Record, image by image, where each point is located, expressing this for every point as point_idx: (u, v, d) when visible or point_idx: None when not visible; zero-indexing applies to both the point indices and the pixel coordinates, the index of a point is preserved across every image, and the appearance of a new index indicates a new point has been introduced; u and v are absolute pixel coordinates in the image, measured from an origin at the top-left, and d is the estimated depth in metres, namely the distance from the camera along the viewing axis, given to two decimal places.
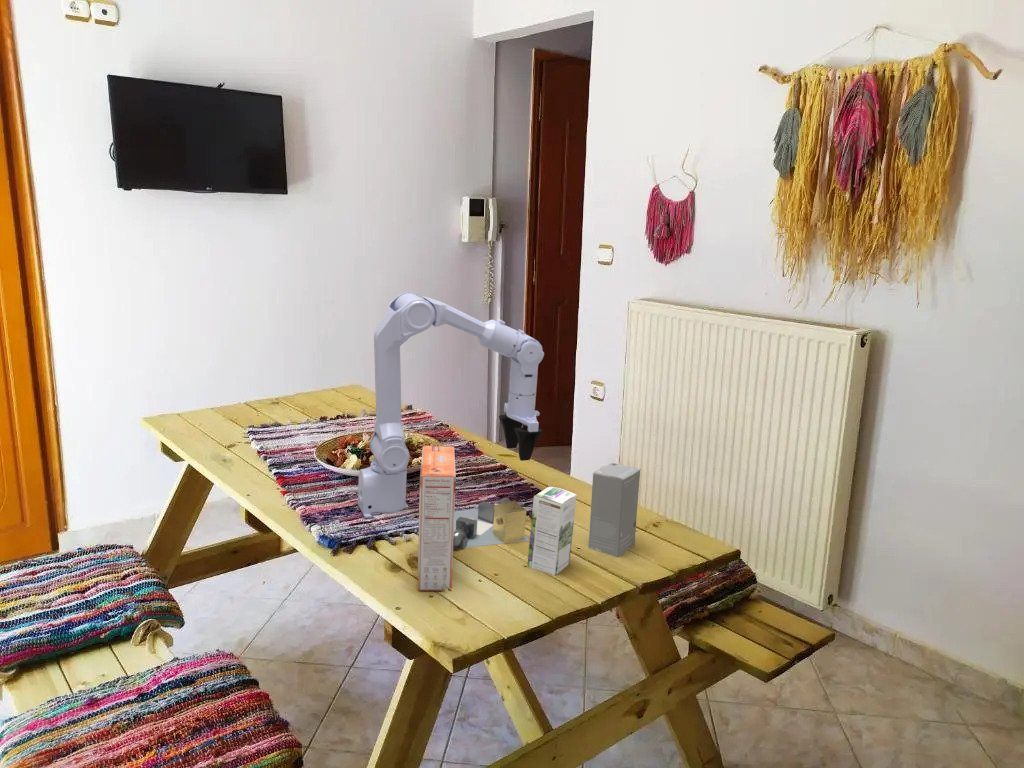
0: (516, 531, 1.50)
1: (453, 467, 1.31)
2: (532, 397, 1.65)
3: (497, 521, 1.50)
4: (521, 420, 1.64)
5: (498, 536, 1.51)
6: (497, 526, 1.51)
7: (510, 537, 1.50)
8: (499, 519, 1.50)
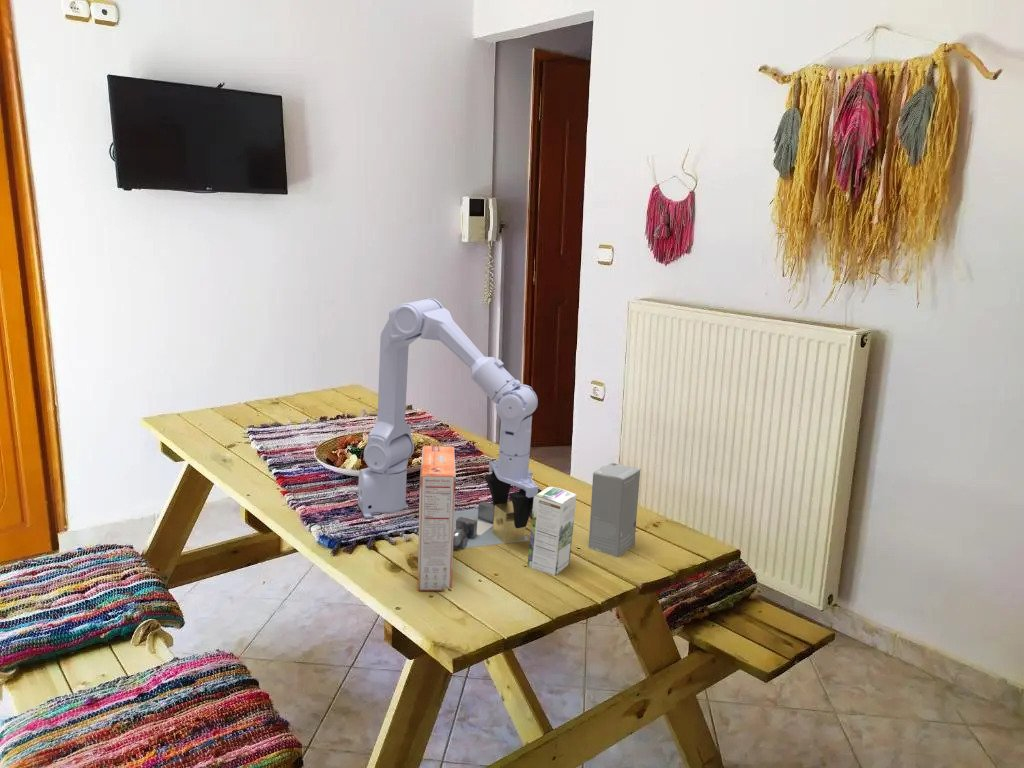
0: (516, 531, 1.50)
1: (453, 467, 1.31)
2: (527, 457, 1.47)
3: (497, 521, 1.50)
4: (517, 484, 1.45)
5: (498, 536, 1.51)
6: (497, 526, 1.51)
7: (510, 537, 1.50)
8: (499, 519, 1.50)
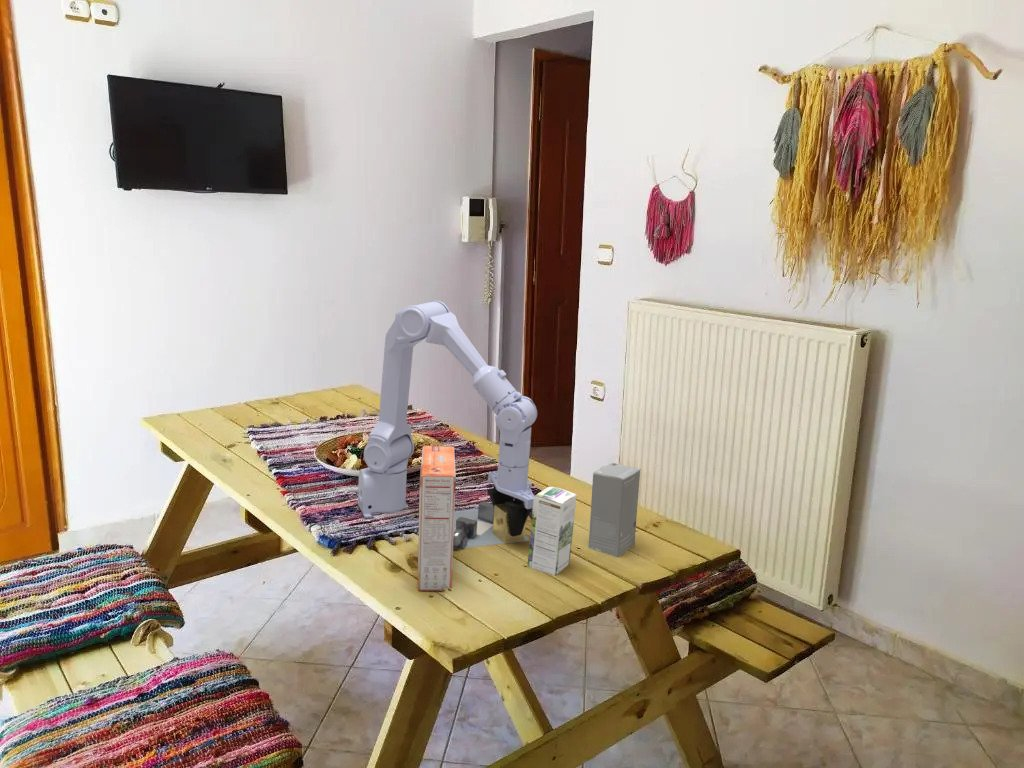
0: None
1: (453, 467, 1.31)
2: (526, 468, 1.47)
3: (497, 521, 1.50)
4: (516, 495, 1.45)
5: (498, 536, 1.51)
6: (497, 526, 1.51)
7: (510, 537, 1.50)
8: (499, 519, 1.50)
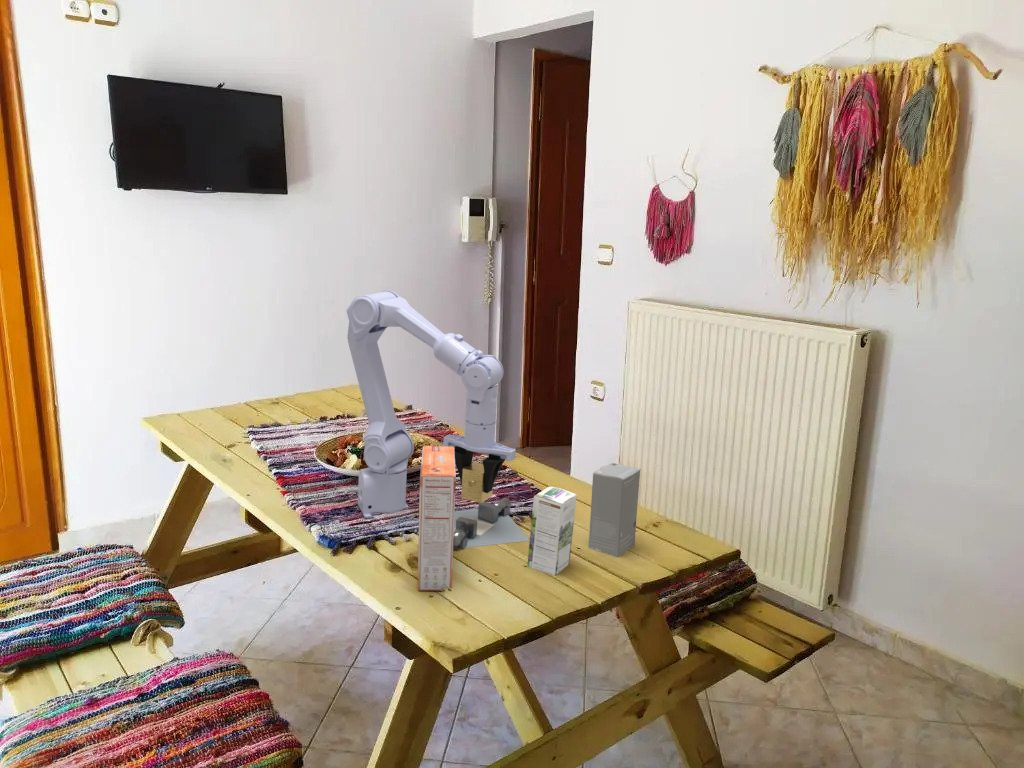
0: None
1: (453, 467, 1.31)
2: (495, 423, 1.50)
3: (470, 483, 1.51)
4: (495, 451, 1.48)
5: (471, 498, 1.52)
6: (468, 488, 1.52)
7: (484, 496, 1.52)
8: (472, 481, 1.51)
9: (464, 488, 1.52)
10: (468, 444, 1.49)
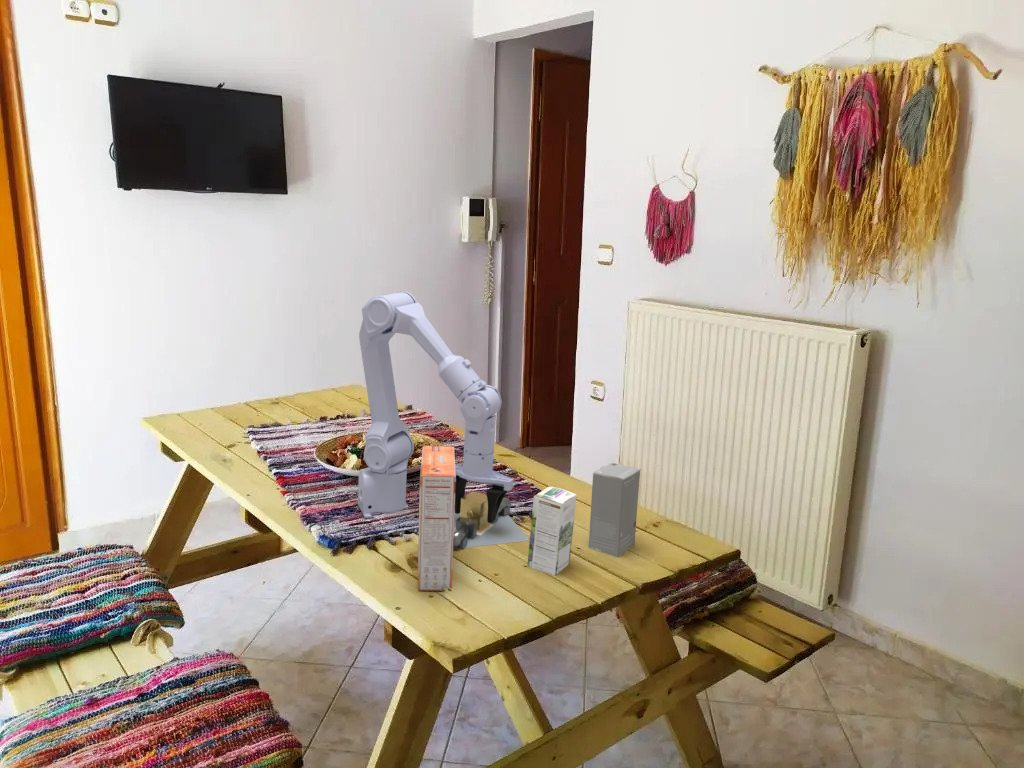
0: (486, 519, 1.54)
1: (453, 467, 1.31)
2: (493, 453, 1.52)
3: (468, 513, 1.53)
4: (493, 481, 1.49)
5: None
6: None
7: (482, 526, 1.54)
8: (470, 511, 1.52)
9: None
10: (466, 473, 1.51)
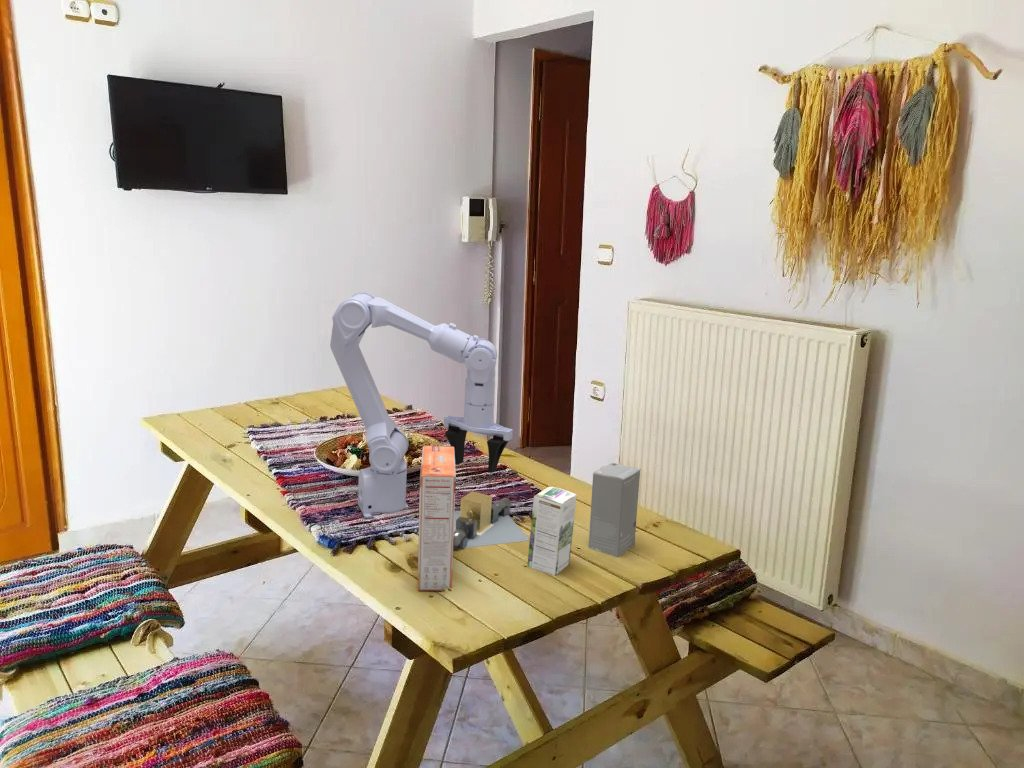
0: (486, 519, 1.54)
1: (453, 467, 1.31)
2: None
3: (468, 513, 1.53)
4: (493, 431, 1.55)
5: None
6: None
7: (482, 526, 1.54)
8: (470, 511, 1.52)
9: None
10: (467, 424, 1.56)
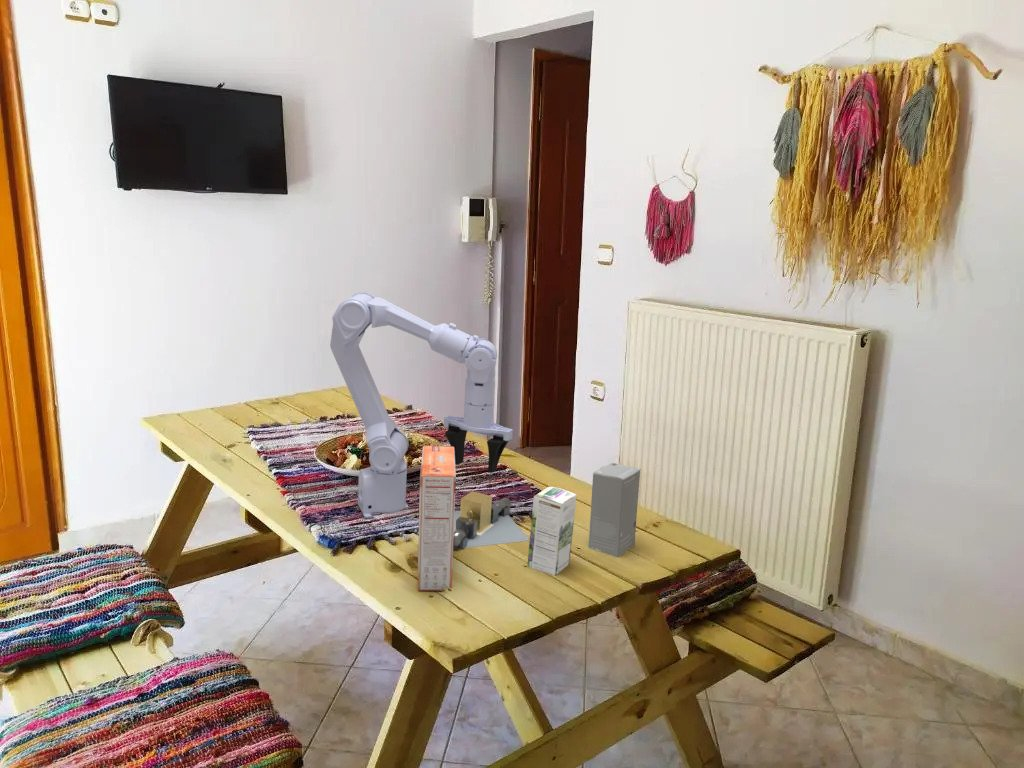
0: (486, 519, 1.54)
1: (453, 467, 1.31)
2: None
3: (468, 513, 1.53)
4: (493, 431, 1.55)
5: None
6: None
7: (482, 526, 1.54)
8: (470, 511, 1.52)
9: None
10: (467, 424, 1.56)
